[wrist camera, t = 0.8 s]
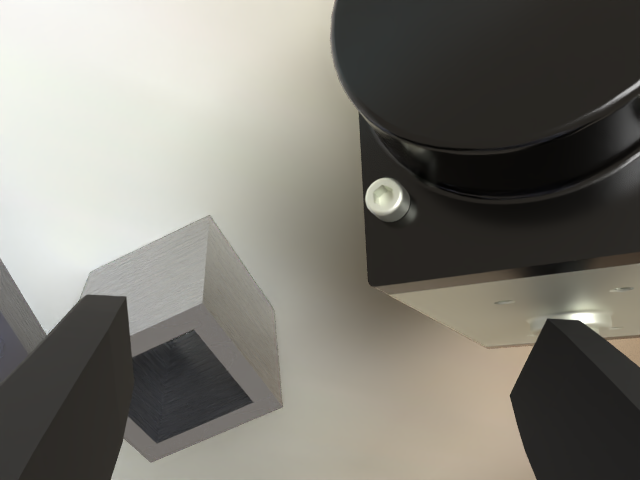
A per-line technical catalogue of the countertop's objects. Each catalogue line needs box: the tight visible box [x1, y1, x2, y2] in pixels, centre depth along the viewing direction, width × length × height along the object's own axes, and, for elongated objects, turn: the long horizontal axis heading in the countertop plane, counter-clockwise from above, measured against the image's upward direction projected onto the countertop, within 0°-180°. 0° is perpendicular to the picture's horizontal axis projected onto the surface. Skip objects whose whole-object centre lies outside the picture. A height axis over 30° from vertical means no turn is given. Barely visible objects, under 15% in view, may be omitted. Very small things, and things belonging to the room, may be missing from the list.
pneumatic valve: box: [330, 0, 640, 349], centre depth 12 cm, size 6×12×12 cm
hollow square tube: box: [79, 215, 283, 462], centre depth 19 cm, size 5×5×5 cm
